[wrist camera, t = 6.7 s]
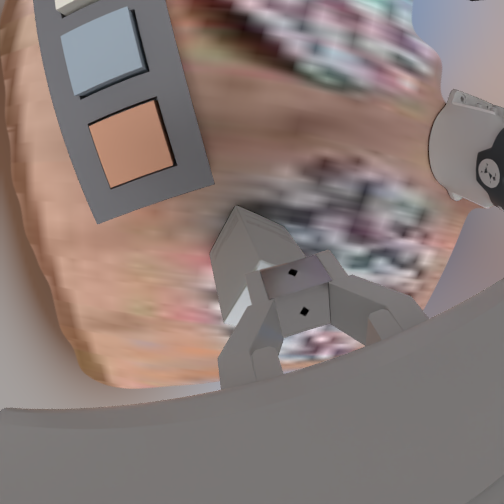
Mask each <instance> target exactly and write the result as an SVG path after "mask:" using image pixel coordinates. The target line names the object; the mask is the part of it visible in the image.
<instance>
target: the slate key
mask: <svg viewBox="0 0 504 504" xmlns="http://www.w3.org/2000/svg"><path fill="white" fill-rule="evenodd" d="M61 42H62V46H63V51H64V56H65V60H66V65H67V69H68V73H69V77H70V81H71V85H72V89H73V92H74V96H90V95H92V94H94V93H96V92H99V91H101V90H103V89H105V88H108V87H110V86H113V85H115V84H117V83H120V82H122V81H125V80H127V79H130V78H133V77H135V76H138V75H141V74H144V73H146V72H149V70H148V66H147V62H146V58H145V54H144V51H143V47H142V43H141V39H140V35H139V31H138V27H137V22H136V19H135V17H134V16H133V14H132V12H131V11H130V9H129V8H128V6H127V7H124V8H121V9H119V10H116V11H113V12H111V13H108V14H106V15H104V16H101V17H99V18H97V19H94V20H92V21H90V22H88V23H86V24H84V25H82V26H79V27H77V28H75V29H73V30H71V31H70V32H68V33H66V34H64V35H62V36H61Z"/></svg>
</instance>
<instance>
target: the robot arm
mask: <svg viewBox="0 0 504 504" xmlns="http://www.w3.org/2000/svg"><path fill="white" fill-rule="evenodd" d="M429 159H430V165H431V169H432V172H433V174H434V176H435V178H436V179H437V181H438V182H439V183H440V184H441V185H442V186H444V187H445V188H446V189H447V190H448V193H449V195H450V197H451V199H453V200H455V201H459V200H460V199H462V198H465V199H467V200H469V201H471V202H474V203H476V204H478V205H480V206H482V207H485V208H489V207H491V206H493V205H495V206H496V207H498V208H499V209H500V210H502V211H504V108H502V107H499V106H496V105H493V104H491V103H488V102H486V101H484V100H481V99H479V98H477V97H474V96H472V95H469V94H466V93H464V92H461V91H459V90H455V89H453V90H452V91H451V93H450V95H449V98H448V101H447V104H446V106H445V107H444V108H443V109H442V110H441V112H440V113H439V114H438V116H437V118H436V120H435V122H434V124H433V127H432V131H431V135H430V141H429ZM245 280H246V284H247V288H248V292H249V296H250V300H251V304H252V305H250V306H247V308H246V310H245V312H244V313H243V315H242V317H241V319H240V320H239V322H238V324H237V326H236V327H235V329H234V331H233V333H232V334H231V336H230V338H229V340H228V341H227V343H226V345H225V346H224V348H223V350H222V352H221V353H220V355H219V357H218V367H219V376H220V385H221V390H218V391H214V392H209V393H204V394H198V395H193V396H187V397H182V398H176V399H169V400H163V401H156V402H148V403H140V404H131V405H122V406H112V407H98V408H80V409H21V408H4V409H2V410H1V411H0V504H504V278H503V279H501V280H500V281H498V282H496V283H495V284H493V285H492V286H490V287H488V288H486V289H485V290H483V291H481V292H480V293H478V294H476V295H475V296H473V297H471V298H469V299H467V300H465V301H464V302H462V303H460V304H458V305H456V306H454V307H452V308H450V309H448V310H447V311H444V312H443V313H440V314H438V315H436V316H434V317H432V318H431V319H429V318H428V317H427V315H426V314H425V313H424V312H423V310H422V309H421V308H420V307H419V305H418V304H417V303H416V302H415V300H414V299H413V298H412V297H411V296H409V295H406V294H403V293H401V292H398V291H395V290H393V289H390V288H387V287H385V286H382V285H379V284H376V283H374V282H371V281H368V280H365V279H363V278H360V277H357V276H354V275H350V276H348V275H347V273H346V272H345V270H344V269H343V268H342V266H341V265H340V264H339V262H338V261H337V259H336V258H335V257H334V255H333V254H332V253H331V251H329V250H326V251H323V252H320V253H317V254H315V255H312V256H309V257H305V258H302V259H299V260H295V261H292V262H287V263H284V264H280V265H276V266H272V267H268V268H265V269H261V270H257V271H253V272H250V273H246V274H245ZM330 323H331V325H333V326H335V327H336V328H338V329H339V330H341V331H343V332H344V333H346V334H347V335H349V336H351V337H352V338H354V339H355V340H357V341H359V342H360V343H362V344H363V345H365V347H363V348H361V349H358V350H355V351H353V352H350V353H347V354H344V355H342V356H339V357H336V358H333V359H330V360H327V361H324V362H321V363H318V364H315V365H312V366H309V367H306V368H303V369H299V370H296V371H293V372H289V373H286V374H283V371H282V367H281V364H280V361H279V358H278V355H279V352H280V349H281V346H282V343H283V340H284V339H283V338H285V337H288V336H291V335H294V334H297V333H300V332H303V331H306V330H310V329H313V328H317V327H320V326H323V325H327V324H330Z"/></svg>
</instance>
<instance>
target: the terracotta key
mask: <svg viewBox="0 0 504 504" xmlns="http://www.w3.org/2000/svg"><path fill="white" fill-rule="evenodd" d="M89 128H90V131H91V135H92V138H93V141H94V144H95V147H96V149H97V152H98V155H99V158H100V161H101V164H102V166H103V169H104V172H105V174H106V177H107V180H108V182H109V185H110V187H111V188H112V187H114V186H117V185H119V184H122V183H125V182H127V181H130V180H133V179H135V178H138V177H141V176H143V175H146V174H149V173H152V172H155V171H158V170H161V169H163V168H166V167H169V166H172V165H173V163H174V158H175V156H174V153H173V149H172V146H171V143H170V140H169V136H168V133H167V130H166V126H165V123H164V119H163V116H162V113H161V109H160V106H159V102H158V100H153V101H150V102H148V103H145V104H142V105H139V106H137V107H134V108H131V109H129V110H126V111H124V112H121V113H119V114H116V115H114V116H111V117H109V118H107V119H104V120H102V121H100V122H97V123H95V124H93V125H91V126H89Z"/></svg>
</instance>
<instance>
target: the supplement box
mask: <svg viewBox="0 0 504 504" xmlns="http://www.w3.org/2000/svg"><path fill="white" fill-rule="evenodd" d="M305 257H306V256H305V255H304V253H303V252H302V251H301V249H300V248H299V246H298V245H297V244H296V242H295V241H294V240H293V238H292V237H291V235H290V234H289V233H288V231H287V230H286V228H285V227H284V226H282V225H280V224H277V223H275V222H273V221H271V220H269V219H267V218H264V217H262V216H260V215H258V214H255V213H253V212H251V211H249V210H246V209H244V208H242V207H239V206H237V205H236V206H235V207H234V209H233V211H232V213H231V214H230V216H229V218H228V220H227V222H226V224H225V225H224V227H223V229H222V231H221V233H220V235H219V237H218V239H217V240H216V242H215V244H214V246H213V248H212V250H211V252H210V259H211V265H212V269H213V274H214V279H215V284H216V289H217V294H218V299H219V303H220V308H221V313H222V318H223V322H224V323H225V324H229V325H233V326H237V324H238V322H239V320H240V319H241V317H242V315H243V313H244V312H245V310H246V308H247V306H250V305H252V304H251V300H250V296H249V292H248V288H247V284H246V280H245V274H246V273H250V272H253V271H257V270H261V269H265V268H268V267H272V266H276V265H280V264H284V263H287V262H292V261H295V260H299V259H302V258H305ZM285 338H286V337H285Z"/></svg>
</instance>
